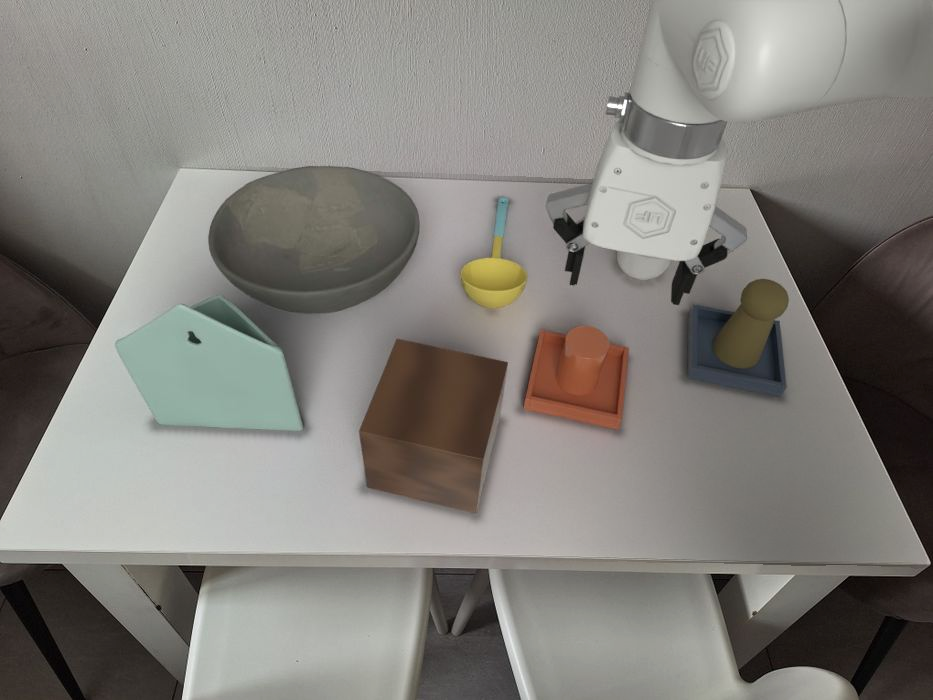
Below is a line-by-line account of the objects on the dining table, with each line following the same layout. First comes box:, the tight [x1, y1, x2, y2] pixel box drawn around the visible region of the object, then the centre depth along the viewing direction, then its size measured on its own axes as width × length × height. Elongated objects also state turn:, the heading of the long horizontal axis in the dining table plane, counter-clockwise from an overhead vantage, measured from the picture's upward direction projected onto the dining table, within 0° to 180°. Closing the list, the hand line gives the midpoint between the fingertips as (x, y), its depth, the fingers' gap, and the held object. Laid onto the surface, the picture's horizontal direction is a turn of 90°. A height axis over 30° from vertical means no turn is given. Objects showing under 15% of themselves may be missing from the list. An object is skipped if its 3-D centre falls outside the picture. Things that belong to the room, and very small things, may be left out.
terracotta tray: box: [522, 329, 630, 430], centre depth 79 cm, size 11×11×2 cm
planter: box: [114, 294, 304, 432], centre depth 68 cm, size 16×8×20 cm, turn 89°
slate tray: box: [686, 304, 787, 398], centre depth 83 cm, size 11×11×2 cm
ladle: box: [459, 196, 528, 309], centre depth 93 cm, size 9×26×6 cm, turn 174°
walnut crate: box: [358, 338, 509, 514], centre depth 68 cm, size 12×12×11 cm
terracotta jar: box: [556, 325, 610, 396], centre depth 77 cm, size 5×5×7 cm
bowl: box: [207, 165, 421, 314], centre depth 86 cm, size 26×26×10 cm
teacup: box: [616, 251, 672, 281], centre depth 92 cm, size 10×8×5 cm
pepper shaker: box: [712, 278, 790, 369], centre depth 80 cm, size 6×6×11 cm
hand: (624, 285), depth 63 cm, fingers open, 9 cm apart
